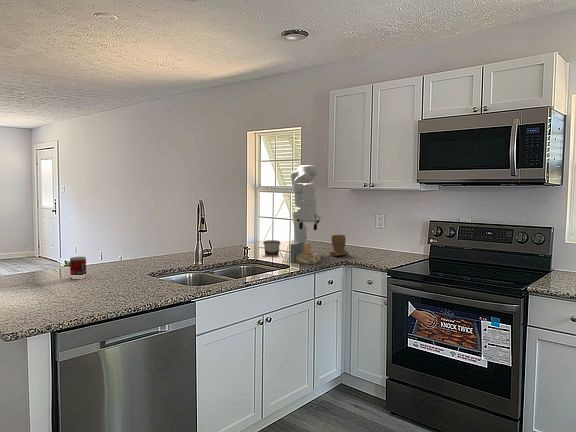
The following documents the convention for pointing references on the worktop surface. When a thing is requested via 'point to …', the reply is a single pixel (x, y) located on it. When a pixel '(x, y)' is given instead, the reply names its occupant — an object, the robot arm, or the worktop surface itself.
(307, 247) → the dowel
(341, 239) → the brown chunky piece
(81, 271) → the canned food
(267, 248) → the food container
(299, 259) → the beige square ring
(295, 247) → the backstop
